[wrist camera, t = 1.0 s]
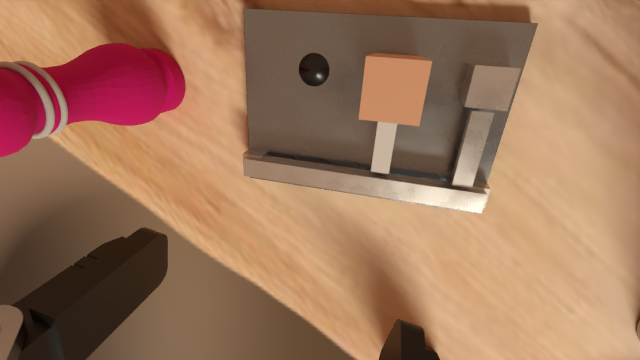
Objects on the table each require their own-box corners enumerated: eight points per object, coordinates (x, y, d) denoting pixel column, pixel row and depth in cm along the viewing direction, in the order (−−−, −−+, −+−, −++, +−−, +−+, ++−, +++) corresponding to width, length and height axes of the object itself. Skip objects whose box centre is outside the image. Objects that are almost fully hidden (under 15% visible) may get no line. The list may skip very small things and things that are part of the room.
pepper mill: (129, 102, 34) (-164, 167, 16) (128, 33, 31) (-240, 19, 13) (187, 123, 33) (-52, 214, 16) (193, 55, 30) (-101, 71, 12)
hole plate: (531, 24, 23) (553, 21, 20) (474, 207, 30) (483, 226, 27) (249, 9, 27) (229, 5, 24) (254, 173, 34) (239, 186, 31)
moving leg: (421, 55, 24) (432, 61, 16) (400, 169, 28) (401, 216, 21) (375, 52, 25) (365, 55, 17) (361, 163, 29) (348, 207, 21)
